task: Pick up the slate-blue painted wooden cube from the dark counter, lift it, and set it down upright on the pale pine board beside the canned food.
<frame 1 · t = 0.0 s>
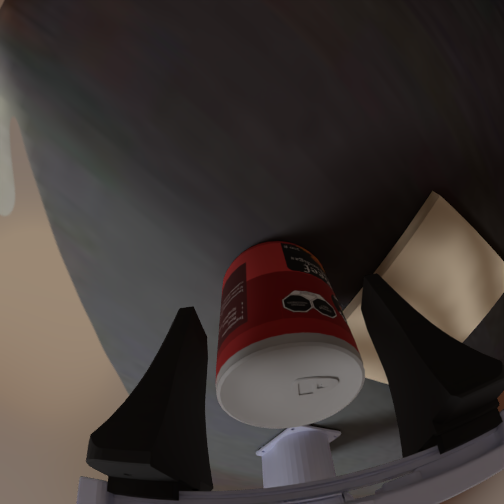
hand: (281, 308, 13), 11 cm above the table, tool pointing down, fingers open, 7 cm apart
board: (424, 309, 27), on the table
canned food: (273, 280, 25), on the table
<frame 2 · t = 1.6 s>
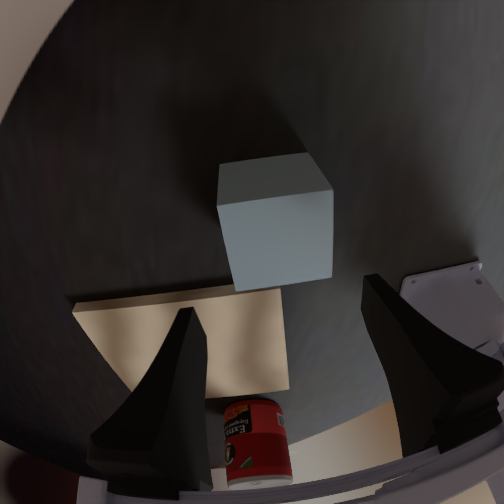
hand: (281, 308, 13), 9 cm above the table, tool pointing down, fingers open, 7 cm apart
board: (192, 350, 30), on the table
canned food: (252, 409, 39), on the table
cube: (268, 196, 21), on the table
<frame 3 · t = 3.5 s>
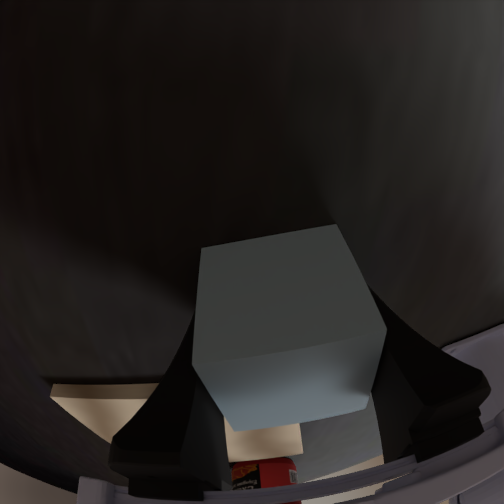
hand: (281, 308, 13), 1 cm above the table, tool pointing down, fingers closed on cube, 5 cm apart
board: (191, 427, 24), on the table
canned food: (263, 463, 32), on the table
cube: (277, 285, 14), on the table, touching gripper
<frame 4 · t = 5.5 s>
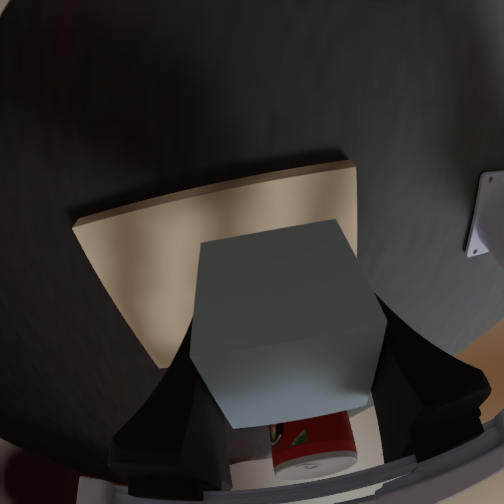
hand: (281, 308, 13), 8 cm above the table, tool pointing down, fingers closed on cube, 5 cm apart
board: (231, 283, 23), on the table
canned food: (300, 374, 32), on the table
cube: (277, 281, 14), point 7 cm above the table, touching gripper
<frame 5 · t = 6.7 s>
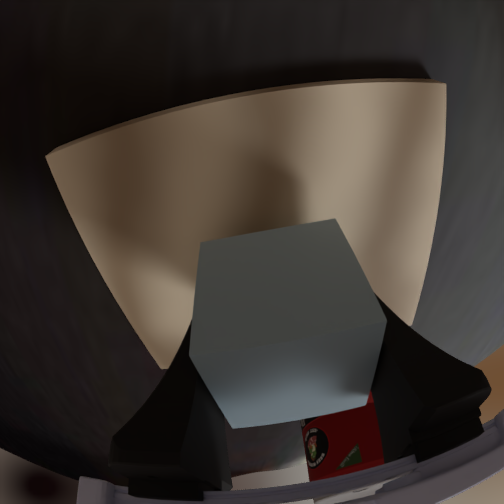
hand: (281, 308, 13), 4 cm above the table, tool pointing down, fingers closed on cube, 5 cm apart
board: (270, 247, 17), on the table
canned food: (337, 375, 26), on the table
cube: (276, 281, 14), point 3 cm above the table, touching gripper
when the fingers open (4 cm above the table, at t = 7.7 s): cube drops 1 cm, resting on board.
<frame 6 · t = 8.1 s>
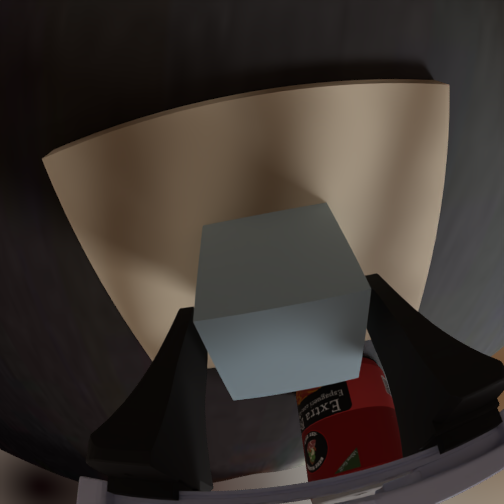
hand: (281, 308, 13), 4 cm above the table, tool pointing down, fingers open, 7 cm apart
board: (271, 250, 16), on the table
canned food: (338, 377, 25), on the table
cube: (273, 262, 15), point 1 cm above the table, touching board
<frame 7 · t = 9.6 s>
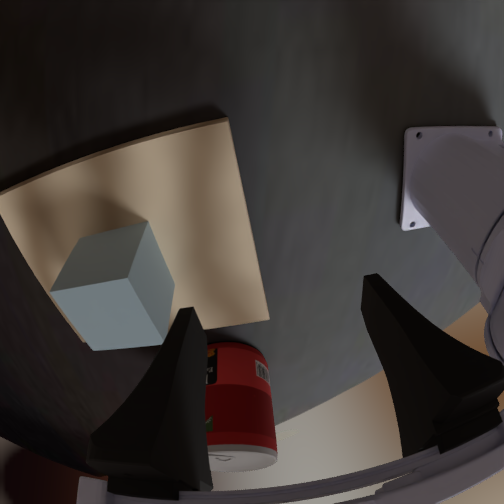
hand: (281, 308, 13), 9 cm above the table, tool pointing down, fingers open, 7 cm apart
board: (131, 253, 22), on the table
canned food: (228, 360, 31), on the table
cube: (127, 261, 21), point 1 cm above the table, touching board
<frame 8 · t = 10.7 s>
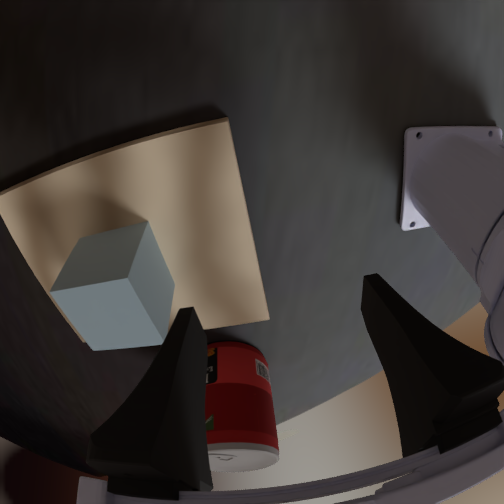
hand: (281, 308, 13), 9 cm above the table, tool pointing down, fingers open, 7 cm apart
board: (131, 253, 22), on the table
canned food: (228, 360, 31), on the table
cube: (127, 261, 21), point 1 cm above the table, touching board
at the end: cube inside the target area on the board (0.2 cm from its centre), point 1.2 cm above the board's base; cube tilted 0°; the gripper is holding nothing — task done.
